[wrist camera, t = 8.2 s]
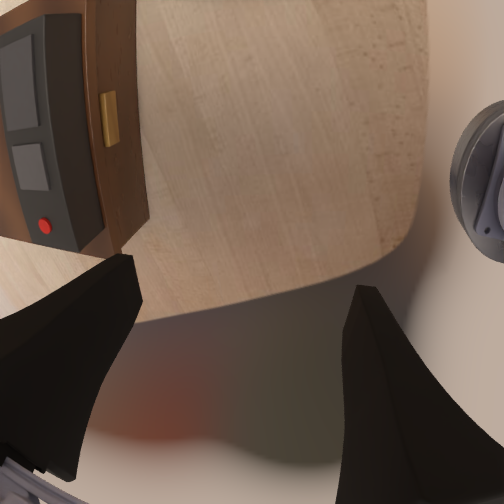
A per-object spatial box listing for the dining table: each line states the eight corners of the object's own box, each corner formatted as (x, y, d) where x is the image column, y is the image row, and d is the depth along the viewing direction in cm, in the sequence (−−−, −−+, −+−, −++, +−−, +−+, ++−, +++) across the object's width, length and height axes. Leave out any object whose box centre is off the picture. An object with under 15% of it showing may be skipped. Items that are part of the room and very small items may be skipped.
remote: (30, 32, 11) (-8, 38, 9) (82, 12, 10) (41, 13, 8) (58, 221, 18) (29, 245, 16) (105, 228, 17) (77, 256, 15)
